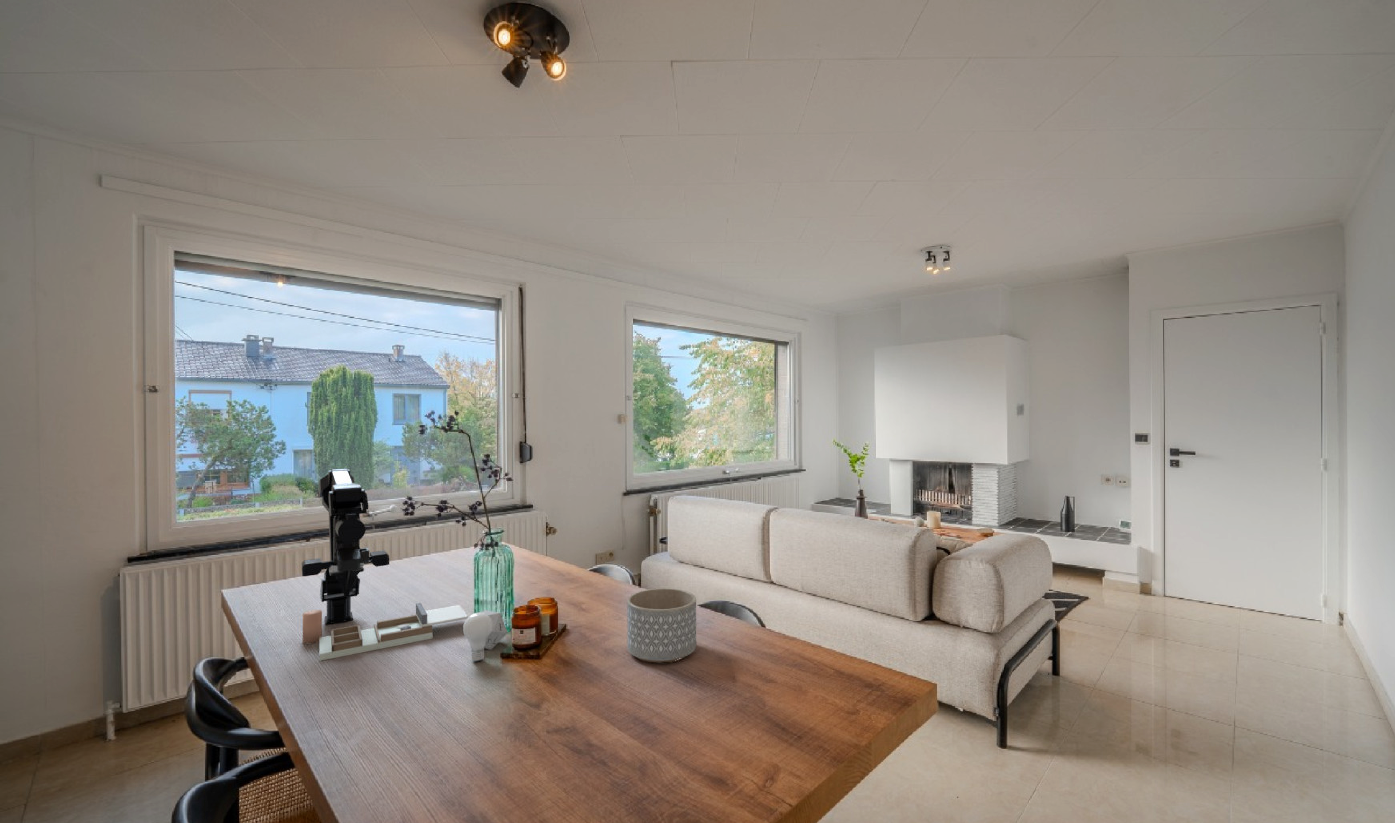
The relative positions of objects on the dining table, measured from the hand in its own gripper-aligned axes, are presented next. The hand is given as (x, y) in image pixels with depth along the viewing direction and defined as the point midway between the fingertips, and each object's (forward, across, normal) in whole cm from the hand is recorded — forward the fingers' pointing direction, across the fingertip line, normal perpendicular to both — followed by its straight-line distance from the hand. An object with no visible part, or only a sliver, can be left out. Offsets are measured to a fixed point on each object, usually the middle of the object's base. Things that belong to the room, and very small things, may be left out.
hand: (346, 596), depth 146 cm
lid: (+7, +21, -7) cm, 23 cm away
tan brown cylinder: (+11, -7, +3) cm, 13 cm away
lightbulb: (+10, +23, -34) cm, 42 cm away
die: (+10, +28, -26) cm, 39 cm away
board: (+10, +6, -7) cm, 14 cm away
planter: (+10, +60, -54) cm, 82 cm away
